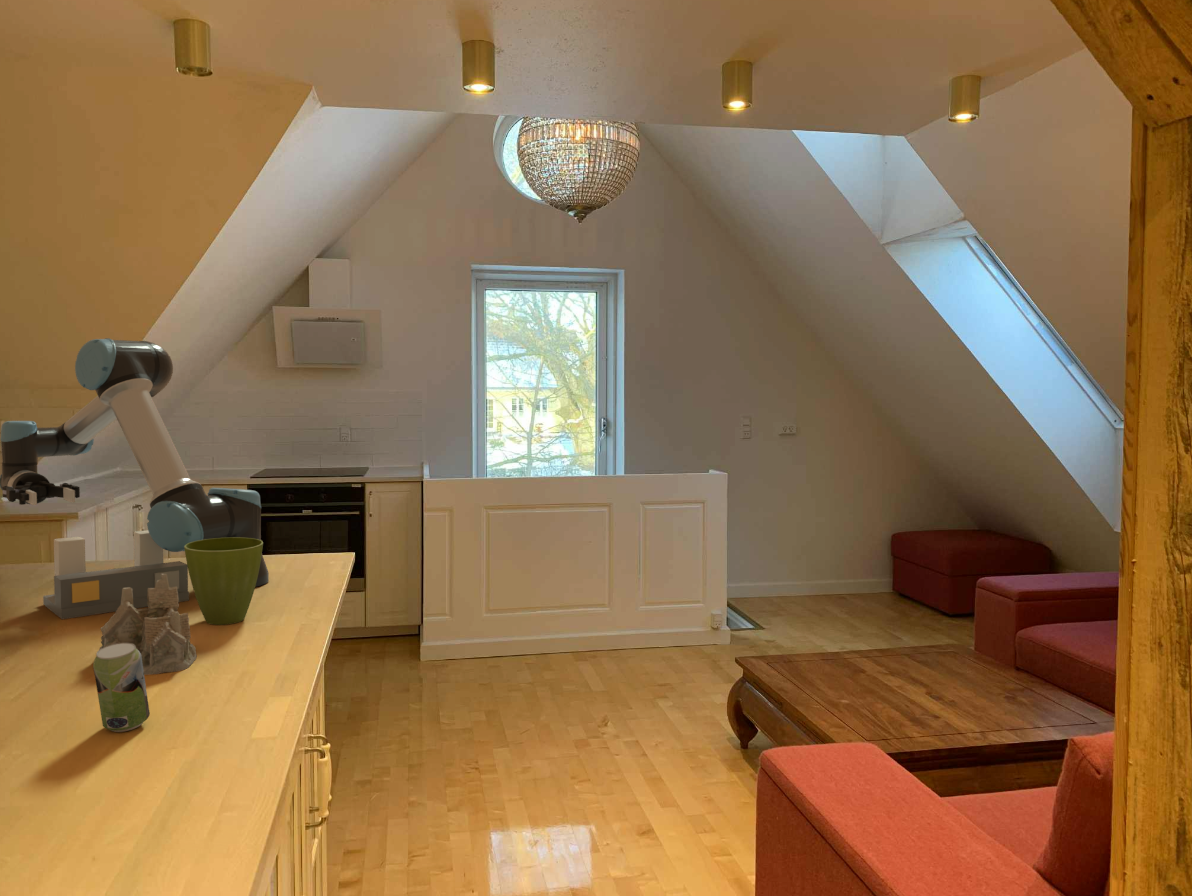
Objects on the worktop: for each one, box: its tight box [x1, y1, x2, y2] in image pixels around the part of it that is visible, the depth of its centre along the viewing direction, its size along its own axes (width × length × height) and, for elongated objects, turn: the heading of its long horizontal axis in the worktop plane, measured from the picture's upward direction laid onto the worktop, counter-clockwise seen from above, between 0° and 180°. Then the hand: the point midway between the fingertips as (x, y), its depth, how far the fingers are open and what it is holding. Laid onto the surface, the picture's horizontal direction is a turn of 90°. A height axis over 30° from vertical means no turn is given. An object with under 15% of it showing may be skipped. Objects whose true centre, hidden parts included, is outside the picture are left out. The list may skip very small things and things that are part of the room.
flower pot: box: [184, 537, 264, 626], centre depth 184 cm, size 15×15×16 cm
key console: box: [42, 560, 190, 620], centre depth 197 cm, size 15×25×8 cm, turn 134°
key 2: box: [133, 529, 164, 567], centre depth 205 cm, size 4×5×12 cm
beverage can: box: [92, 643, 151, 733], centre depth 128 cm, size 6×7×12 cm
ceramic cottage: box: [95, 574, 198, 676], centre depth 157 cm, size 16×16×15 cm
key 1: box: [53, 536, 87, 576], centre depth 194 cm, size 4×5×12 cm
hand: (53, 497), depth 202 cm, fingers open, 7 cm apart
